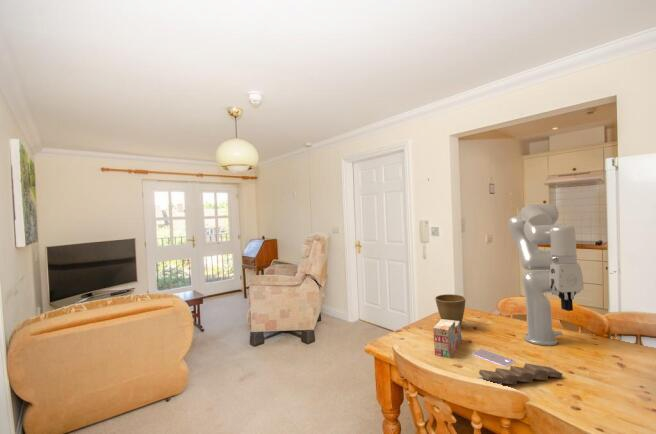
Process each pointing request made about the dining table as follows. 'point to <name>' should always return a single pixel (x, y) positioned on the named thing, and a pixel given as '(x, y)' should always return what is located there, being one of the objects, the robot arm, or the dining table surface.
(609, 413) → the dining table surface
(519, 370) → the domino
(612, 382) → the dining table surface
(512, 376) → the domino
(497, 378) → the domino
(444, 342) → the colourful printed box
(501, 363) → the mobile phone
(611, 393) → the dining table surface
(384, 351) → the dining table surface
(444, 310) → the plant pot
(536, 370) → the domino
